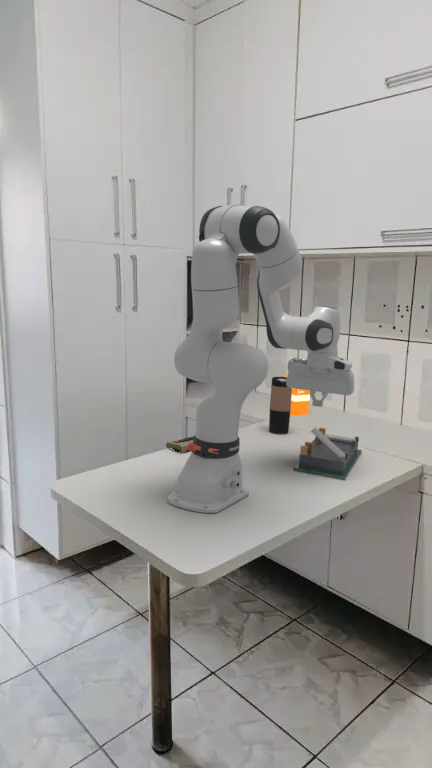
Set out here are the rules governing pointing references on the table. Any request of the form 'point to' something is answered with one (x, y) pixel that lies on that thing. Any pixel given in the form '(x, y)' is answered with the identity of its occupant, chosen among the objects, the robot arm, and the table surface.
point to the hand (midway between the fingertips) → (317, 405)
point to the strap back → (339, 438)
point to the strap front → (328, 442)
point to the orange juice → (299, 401)
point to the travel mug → (280, 406)
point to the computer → (180, 444)
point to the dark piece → (327, 458)
